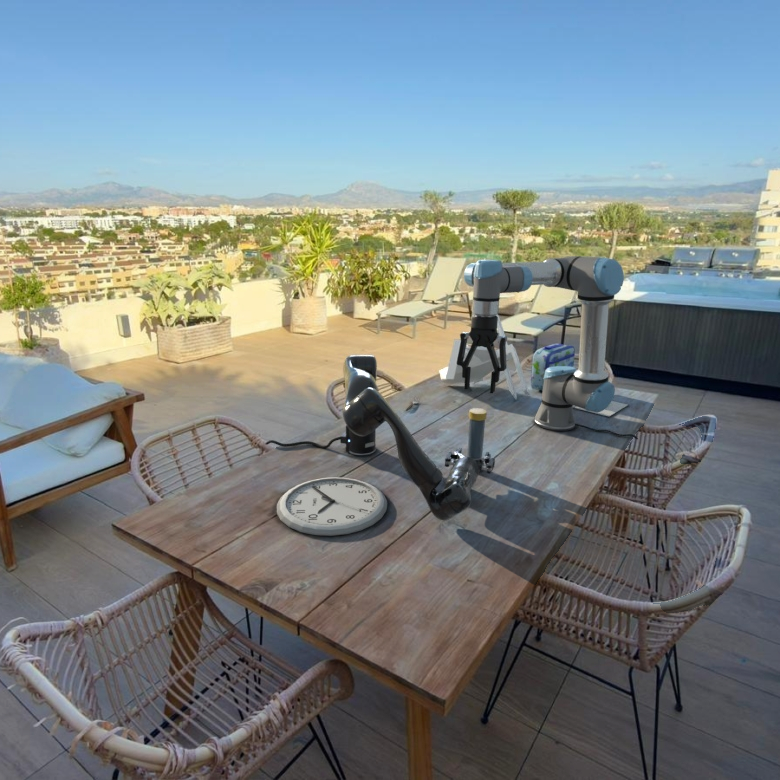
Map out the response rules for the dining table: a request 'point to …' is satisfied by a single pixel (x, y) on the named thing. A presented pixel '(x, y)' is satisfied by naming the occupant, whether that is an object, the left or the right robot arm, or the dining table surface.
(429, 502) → the left robot arm
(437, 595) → the dining table surface
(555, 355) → the lunch box
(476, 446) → the bottle
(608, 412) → the invitation card
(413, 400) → the fork
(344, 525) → the wall clock
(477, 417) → the lid
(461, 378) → the white plastic object
